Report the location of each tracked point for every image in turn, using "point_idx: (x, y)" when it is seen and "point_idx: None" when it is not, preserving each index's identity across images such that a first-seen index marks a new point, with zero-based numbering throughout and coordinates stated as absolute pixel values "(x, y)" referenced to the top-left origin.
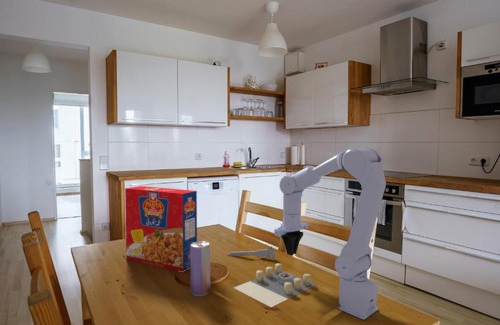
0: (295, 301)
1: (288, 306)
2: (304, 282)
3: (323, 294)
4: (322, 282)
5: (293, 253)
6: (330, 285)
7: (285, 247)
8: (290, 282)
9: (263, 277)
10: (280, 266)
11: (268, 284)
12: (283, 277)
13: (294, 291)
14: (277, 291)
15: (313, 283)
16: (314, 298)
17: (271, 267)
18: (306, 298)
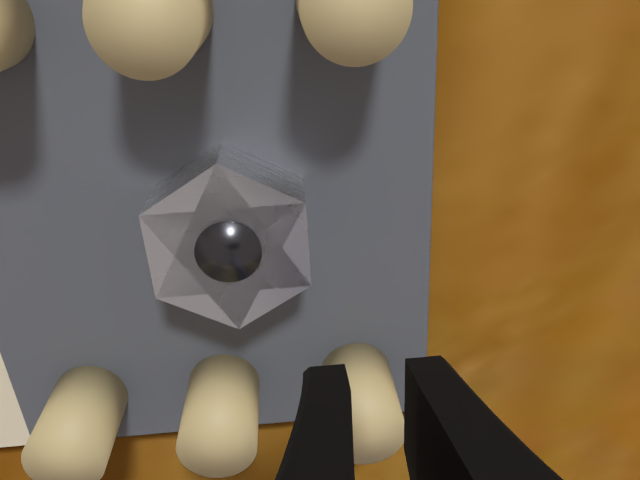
0: None
1: (10, 459)
2: None
3: (359, 473)
4: (538, 358)
5: (407, 427)
6: (530, 420)
7: (283, 458)
8: (102, 454)
9: (3, 68)
10: (341, 64)
11: (30, 162)
12: (177, 274)
13: (166, 395)
14: (29, 319)
15: None
16: (258, 476)
17: (185, 22)
18: None
